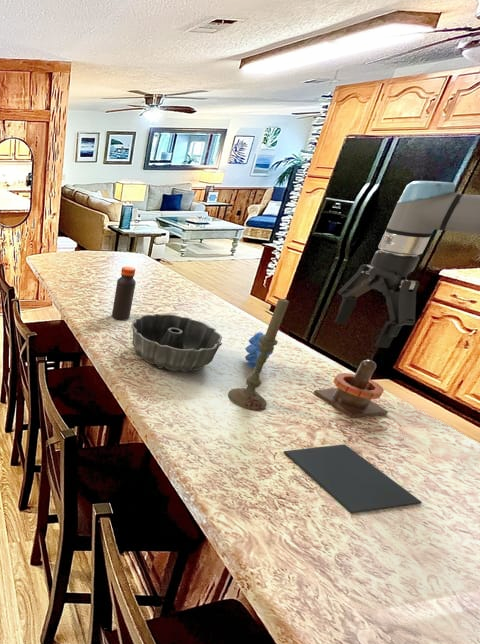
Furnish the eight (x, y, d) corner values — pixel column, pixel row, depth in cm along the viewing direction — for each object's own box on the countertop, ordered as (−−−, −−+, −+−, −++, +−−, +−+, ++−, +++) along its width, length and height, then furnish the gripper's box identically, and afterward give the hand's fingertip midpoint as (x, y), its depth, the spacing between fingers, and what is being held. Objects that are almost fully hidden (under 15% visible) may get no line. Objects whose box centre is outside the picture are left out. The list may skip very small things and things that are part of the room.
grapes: (274, 378, 115) (288, 343, 109) (249, 375, 116) (261, 340, 111) (260, 359, 125) (272, 326, 120) (237, 356, 126) (248, 323, 121)
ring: (390, 397, 99) (393, 392, 98) (358, 400, 97) (361, 395, 97) (354, 376, 107) (356, 372, 107) (324, 379, 106) (327, 374, 105)
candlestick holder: (233, 407, 102) (270, 302, 89) (223, 387, 110) (257, 289, 97) (271, 413, 100) (315, 306, 87) (259, 393, 108) (298, 292, 95)
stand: (386, 414, 101) (412, 370, 95) (350, 418, 99) (374, 373, 93) (346, 390, 110) (367, 348, 104) (313, 392, 109) (332, 351, 103)
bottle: (130, 321, 150) (139, 271, 141) (112, 319, 150) (120, 270, 142) (128, 314, 156) (136, 266, 147) (110, 312, 157) (118, 265, 148)
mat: (420, 503, 76) (422, 501, 75) (351, 513, 73) (352, 511, 73) (343, 445, 90) (344, 444, 90) (283, 452, 87) (284, 450, 87)
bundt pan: (109, 348, 130) (114, 321, 126) (164, 333, 141) (170, 307, 137) (173, 389, 109) (181, 358, 105) (232, 367, 120) (242, 339, 116)
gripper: (342, 239, 101) (312, 313, 110) (431, 267, 78) (383, 358, 87) (372, 240, 100) (339, 315, 109) (470, 269, 78) (419, 359, 87)
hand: (359, 334), depth 98 cm, fingers open, 13 cm apart
